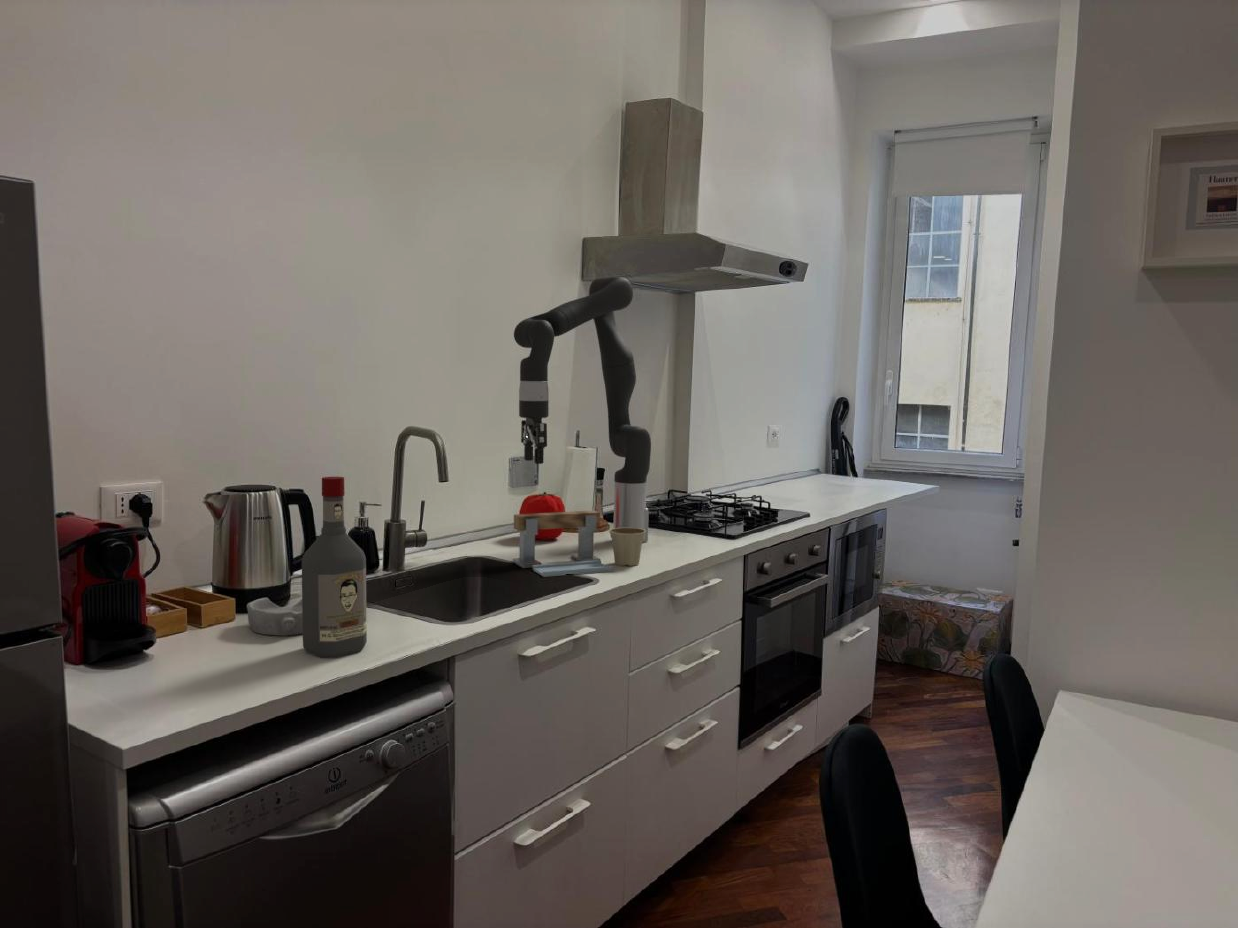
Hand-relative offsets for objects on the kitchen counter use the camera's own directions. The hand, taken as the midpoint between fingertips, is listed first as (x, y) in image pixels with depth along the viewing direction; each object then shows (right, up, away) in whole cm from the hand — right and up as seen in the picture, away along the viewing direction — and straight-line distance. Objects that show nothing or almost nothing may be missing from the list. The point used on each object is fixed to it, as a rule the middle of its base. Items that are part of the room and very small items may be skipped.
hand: (533, 462), depth 236 cm
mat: (+11, -27, -11) cm, 31 cm away
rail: (+6, -17, -2) cm, 18 cm away
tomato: (0, -22, +31) cm, 38 cm away
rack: (+6, -26, -1) cm, 26 cm away
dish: (-40, -32, -64) cm, 82 cm away
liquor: (-27, -33, -77) cm, 88 cm away
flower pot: (+24, -26, -2) cm, 36 cm away
